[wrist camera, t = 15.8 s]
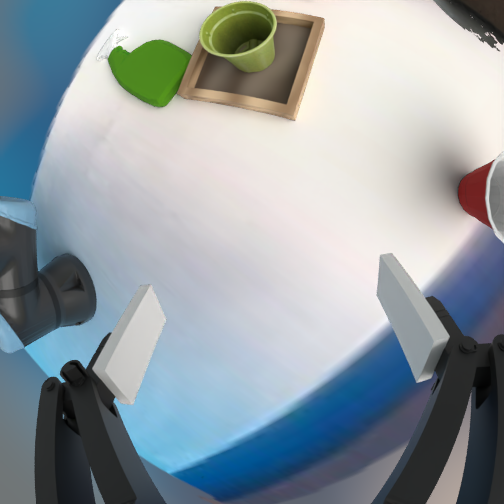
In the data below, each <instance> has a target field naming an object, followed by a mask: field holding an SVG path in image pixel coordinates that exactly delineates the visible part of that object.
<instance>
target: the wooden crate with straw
mask: <svg viewBox="0 0 504 504" xmlns="http://www.w3.org/2000/svg"><path fill="white" fill-rule="evenodd" d="M434 1H435V2H436V3H437V4H438V6H439V7H440V8H441V9H442V10H443V11H444V12H445V13H446V14H447V15H449V16H450V17H451V18H452V19H453V20H454V21H455V22H456V23H458V24H459V25H460V26H461V27H462V28H464V29H465V28H466V29H467V30H468V31H469V32H475V33H477V34H479V35H480V37H481V39H480V38H479V37H478V36H477V37H478V38H479V40H480V41H482V42H483V43H484V41H485V42H487V43H488V44H489V45H490V46H491V47H492V48H493V47H494V48H495V49H496V47H495V46H494V43H495V44H497V41H495V40H494V38H493V37H492V36H491V34H493V35H494V36H495V37H496V39H497V40H498V42H499V43H500V44H503V43H504V0H434ZM470 15H471V16H470ZM471 17H473V18H471ZM482 26H483V28H482ZM470 28H471V29H472V31H471V30H470ZM487 32H488V33H489V32H490V33H489V35H490V37H488V36H489V35H488V36H486V35H485V34H484V33H487ZM492 32H493V33H492ZM475 36H476V35H475ZM482 38H483V39H482ZM483 40H484V41H483ZM501 40H502V41H501ZM502 42H503V43H502ZM497 51H499V50H498V48H497Z"/></svg>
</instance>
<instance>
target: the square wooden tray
mask: <svg viewBox="0 0 504 504" xmlns="http://www.w3.org/2000/svg"><path fill="white" fill-rule="evenodd" d="M219 8H221V7H215V8H214V10H213V12H214V11H216V10H217V9H219ZM213 12H212V13H213ZM272 12H273V13H274V15H275V17H276V21H277V27H276V31H275V33H274V35H273V40H274V49H275V57H274V60H273V62H272V63H271V65H270V66H268V67H267V68H266V69H264V70H262V71H258V72H249V73H248V72H244V71H241V70H240V69H238V68H237V67H236V66H234V65H233V64H232V63H231V62H229V61H228V60H227V59H225V58H224V57H220V56H216V55H213V54H211V53H209V52H208V51H207V50H205V49H204V47H203V46H202V45H201V42H200V39H199V41H198V43H197V45H196V48H195V50H194V52H193V55H192V57H191V59H190V62H189V64H188V67H187V69H186V72H185V74H184V77H183V79H182V82H181V84H180V87H179V90H178V92H177V94H178V95H180V96H181V97H183V98H185V99H191V100H199V101H205V102H212V103H218V104H224V105H229V106H235V107H240V108H245V109H249V110H254V111H259V112H263V113H267V114H271V115H275V116H279V117H283V118H287V119H291V120H294V121H295V119H296V116H297V113H298V110H299V107H300V104H301V100H302V97H303V94H304V91H305V88H306V85H307V81H308V78H309V75H310V72H311V69H312V66H313V62H314V59H315V56H316V53H317V50H318V47H319V43H320V40H321V37H322V34H323V31H324V28H325V23H324V18H321V17H316V16H311V15H306V14H300V13H294V12H287V11H280V10H272ZM245 47H246V46H243V47H242V48H241V49H240V50H239V51H240V52H241V51H242V50H243V49H244V48H245Z"/></svg>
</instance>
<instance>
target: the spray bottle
mask: <svg viewBox="0 0 504 504" xmlns="http://www.w3.org/2000/svg"><path fill="white" fill-rule="evenodd" d="M119 32H120V30H117V29H116V30H115V32H114V33H113V34H112V35H111V36H110V37H109V39H108V40H107V41H106V43H105V44H104V46H103V47H102V49H101V50H100V51H99V54H98V56H97V58H96V59H98V60H100V61H101V60H102V59H104V58H108V62H109V65H110V67H111V70H112V73H113V74H114V76H115V78H116V79H117V81H118V83H119V84H120V85H121V86H122V87H123V88H124V89H125V90H127V91H128V92H129V93H131V94H132V95H134V96H135V97H137V98H139V99H140V100H142V101H144V102H146V103H148V104H151V105H153V106H156V107H163V106H166V105H167V104H168V103H169V102H170V100H171V99H172V98H173V96H174V95H175V94H176V92H177V91H178V90H179V87H180V84H181V82H182V79H183V77H184V74H185V72H186V69H187V67H188V64H189V62H190V59H191V57H192V55H190V54H189V53H188V52H186V51H185V50H183V49H181V48H179V47H177V46H175V45H174V44H172V43H170V42H167V41H164V40H152V41H149V42H146V43H145V44H143V45H141V46H140V47H138V48H136V49H135V50H134V51H132V52H131V53H129V52H127V51H126V50H123V49H122V47H121V46H118V47H117V42H119V41H121V40H123V39H125V38H128V36H124V37H117V35H118V33H119Z"/></svg>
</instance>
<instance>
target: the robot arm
mask: <svg viewBox="0 0 504 504" xmlns="http://www.w3.org/2000/svg"><path fill="white" fill-rule="evenodd" d="M36 230H37V226H36V208H35V206H34V204H33V203H32V202H30V201H28V200H24V199H19V198H12V197H3V196H0V348H1V349H2V350H3V351H5V352H6V353H12V352H15V351H17V350H19V349H21V348H22V349H23V348H25V346H27V345H29V344H31V343H32V342H34V341H36V340H37V339H39V338H41V337H43V336H44V335H46V334H48V333H50V332H51V331H53V330H55V329H57V328H59V327H66V326H74V325H82V324H84V323H86V322H87V321H89V320H91V319H92V317H93V316H94V314H95V310H96V294H95V289H94V286H93V283H92V280H91V278H90V275H89V273H88V271H87V270H86V268H85V267H84V265H83V264H82V263H81V262H80V261H79V260H78V259H77V258H76V257H74V256H72V255H70V254H65V255H61V256H58V257H56V258H54V259H53V260H52V261H51V262H50V263H48V264H47V265H46V266H45V267H43V268H42V269H41V270H40V271H39V272H38V268H37V248H36ZM377 297H378V299H379V301H380V303H381V305H382V307H383V309H384V311H385V313H386V315H387V317H388V319H389V321H390V323H391V325H392V327H393V329H394V331H395V334H396V336H397V338H398V340H399V342H400V344H401V347H402V349H403V351H404V353H405V356H406V358H407V360H408V363H409V365H410V367H411V370H412V372H413V375H414V377H415V380H416V382H417V383H418V382H421V381H424V380H427V379H430V378H431V377H432V375H433V373H434V371H436V374H437V376H438V378H437V380H436V381H435V383H434V385H433V387H432V389H431V390H432V393H431V395H430V398H429V400H428V403H427V405H426V407H425V410H424V412H423V414H422V417H421V419H420V421H419V423H418V425H417V428H416V430H415V432H414V434H413V436H412V438H411V440H410V442H409V444H408V446H407V447H406V449H405V451H404V453H403V455H402V457H401V459H400V460H399V462H398V464H397V465H396V467H395V469H394V470H393V472H392V474H391V475H390V477H389V478H388V480H387V481H386V483H385V485H384V486H383V488H382V489H381V491H380V492H379V493H378V495H377V496H376V498H375V499H374V501H373V502H372V503H371V504H426V502H427V500H428V499H429V497H430V495H431V493H432V491H433V489H434V488H435V486H436V484H437V482H438V480H439V478H440V476H441V474H442V472H443V469H444V467H445V465H446V462H447V461H448V458H449V456H450V453H451V451H452V449H453V446H454V443H455V441H456V438H457V435H458V433H459V430H460V427H461V424H462V421H463V418H464V415H465V411H466V408H467V405H468V401H469V397H470V393H471V389H472V397H471V421H470V432H469V441H468V449H467V456H466V462H465V468H464V473H463V478H462V482H461V487H460V491H459V495H458V499H457V502H456V504H504V335H503V334H501V335H497V336H496V337H495V338H494V340H493V341H492V343H488V344H478V343H477V342H476V341H475V340H474V339H473V338H471V337H469V336H464V335H463V334H462V332H461V331H460V329H459V328H458V326H457V325H456V323H455V322H454V320H453V319H452V317H451V316H450V315H449V313H448V311H447V310H446V309H445V307H444V306H443V304H442V303H441V302H440V301H439V300H438V299H436V298H435V297H433V296H431V297H427V298H425V297H424V296H423V294H422V293H421V291H420V290H419V289H418V287H417V286H416V284H415V283H414V282H413V280H412V279H411V277H410V276H409V275H408V273H407V272H406V271H405V269H404V268H403V267H402V265H401V264H400V263H399V261H398V260H397V259H396V257H395V256H394V255H393V254H392V253H390V254H383V255H380V262H379V275H378V286H377ZM166 320H167V319H166V317H165V315H164V313H163V310H162V308H161V306H160V304H159V301H158V299H157V297H156V295H155V292H154V290H153V287H152V285H151V284H149V285H140V287H139V289H138V290H137V292H136V293H135V295H134V297H133V298H132V300H131V301H130V303H129V305H128V306H127V308H126V310H125V311H124V313H123V315H122V316H121V318H120V320H119V321H118V323H117V325H116V327H115V328H114V330H113V332H112V333H108V334H107V335H106V336H105V337H104V338H103V340H102V341H101V343H100V345H99V347H98V348H97V350H96V353H95V354H94V355H93V357H92V359H91V361H90V363H89V365H88V366H87V368H86V369H85V368H84V367H83V366H82V364H81V363H80V362H79V361H78V360H72V361H69V362H67V363H66V364H65V365H64V366H63V367H62V369H61V371H60V376H61V377H62V378H63V379H64V380H65V381H66V382H64V383H61V382H60V380H59V379H58V378H56V377H50V378H48V379H47V380H46V381H45V382H44V383H43V385H42V389H41V395H40V401H39V408H38V418H37V428H36V440H35V493H36V504H96V503H95V498H94V493H93V486H92V479H91V471H90V467H91V470H92V473H93V475H94V478H95V481H96V483H97V486H98V488H99V490H100V493H101V495H102V498H103V500H104V502H105V504H166V503H165V501H164V499H163V498H162V496H161V495H160V493H159V492H158V490H157V488H156V487H155V485H154V483H153V482H152V480H151V478H150V476H149V475H148V473H147V471H146V469H145V467H144V466H143V463H142V462H141V460H140V458H139V456H138V454H137V452H136V450H135V448H134V446H133V444H132V441H131V439H130V437H129V435H128V433H127V431H126V428H125V426H124V424H123V421H122V419H121V417H120V414H119V412H118V409H117V407H116V405H115V403H114V402H113V401H114V398H115V397H116V398H117V399H118V401H119V402H120V403H122V404H129V405H133V404H134V401H135V399H136V396H137V393H138V390H139V388H140V385H141V382H142V380H143V377H144V374H145V372H146V369H147V367H148V364H149V361H150V359H151V356H152V354H153V351H154V349H155V346H156V344H157V341H158V339H159V336H160V334H161V332H162V329H163V327H164V324H165V322H166ZM63 414H64V419H63Z"/></svg>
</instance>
